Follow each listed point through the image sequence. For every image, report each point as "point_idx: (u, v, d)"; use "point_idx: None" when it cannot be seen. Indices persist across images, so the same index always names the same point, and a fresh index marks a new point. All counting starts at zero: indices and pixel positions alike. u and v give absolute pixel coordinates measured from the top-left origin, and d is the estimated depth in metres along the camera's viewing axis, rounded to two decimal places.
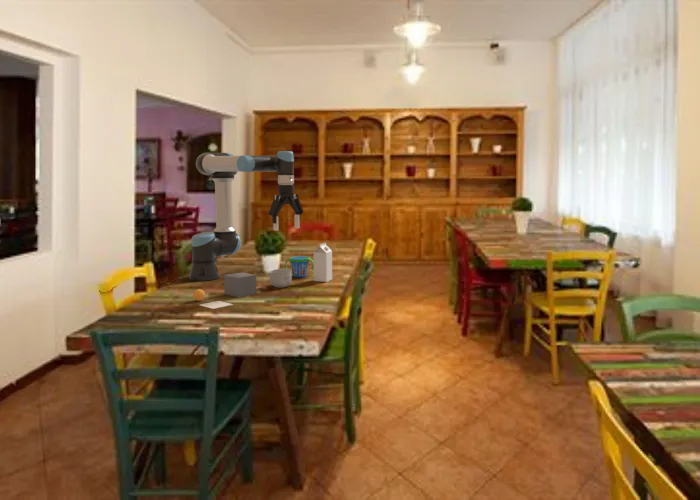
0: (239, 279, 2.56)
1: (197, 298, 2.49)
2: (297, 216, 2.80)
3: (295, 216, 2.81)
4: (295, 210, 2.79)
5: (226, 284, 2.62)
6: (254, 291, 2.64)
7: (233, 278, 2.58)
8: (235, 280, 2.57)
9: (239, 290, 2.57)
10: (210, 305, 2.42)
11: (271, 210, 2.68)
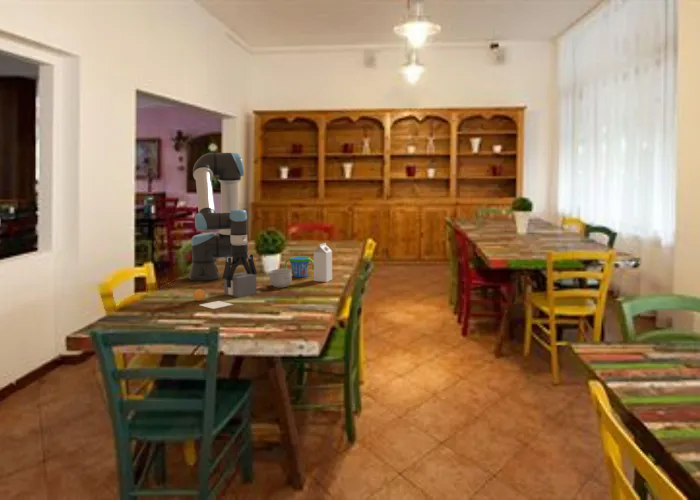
0: (239, 279, 2.57)
1: (197, 298, 2.49)
2: None
3: None
4: (248, 271, 2.66)
5: (226, 284, 2.62)
6: (254, 291, 2.64)
7: (233, 278, 2.58)
8: (235, 280, 2.57)
9: (239, 290, 2.57)
10: (210, 305, 2.42)
11: (224, 274, 2.57)
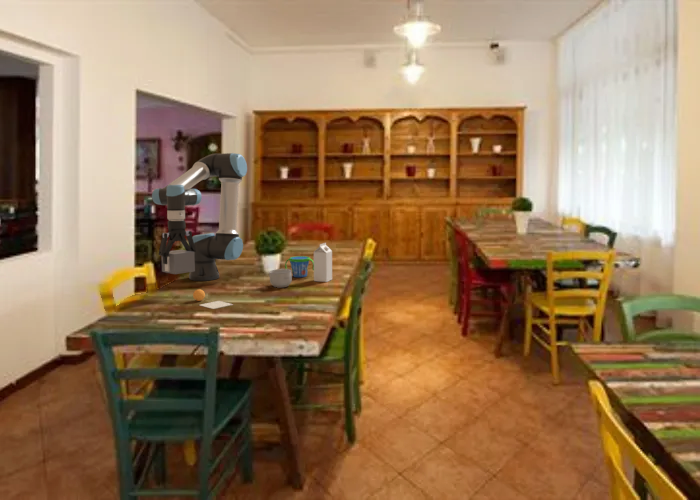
0: (175, 255, 2.52)
1: (197, 298, 2.49)
2: None
3: None
4: (186, 248, 2.61)
5: None
6: (192, 268, 2.59)
7: (169, 254, 2.53)
8: (171, 256, 2.52)
9: (175, 266, 2.52)
10: (210, 305, 2.42)
11: (160, 250, 2.52)
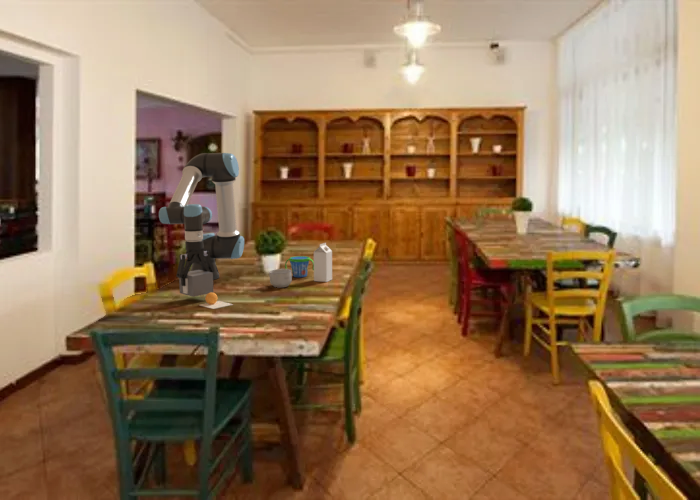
0: (194, 277, 2.45)
1: (206, 295, 2.44)
2: None
3: None
4: (205, 269, 2.54)
5: None
6: (211, 289, 2.52)
7: (188, 276, 2.46)
8: (190, 278, 2.45)
9: (194, 288, 2.45)
10: (210, 305, 2.42)
11: (178, 272, 2.45)
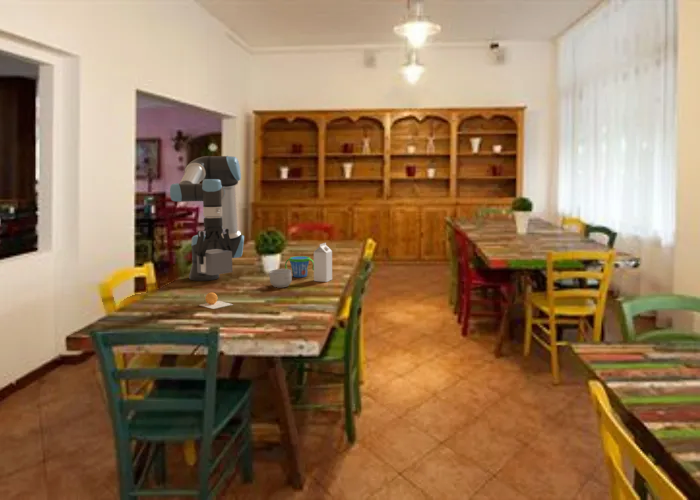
0: (212, 254, 2.34)
1: (206, 295, 2.44)
2: None
3: None
4: (223, 247, 2.44)
5: None
6: (230, 269, 2.41)
7: (206, 254, 2.35)
8: (208, 256, 2.35)
9: (213, 267, 2.34)
10: (210, 305, 2.42)
11: (196, 250, 2.34)
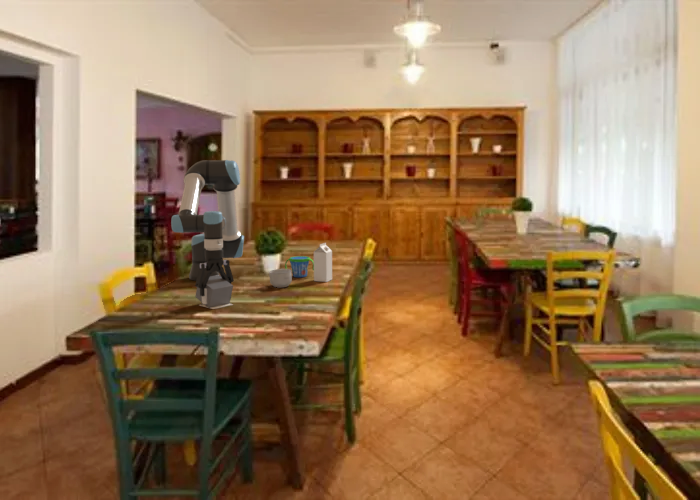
0: (214, 290, 2.36)
1: None
2: None
3: None
4: (224, 278, 2.45)
5: (199, 288, 2.41)
6: (227, 301, 2.44)
7: (207, 286, 2.37)
8: (209, 290, 2.36)
9: (211, 300, 2.37)
10: None
11: (197, 282, 2.36)
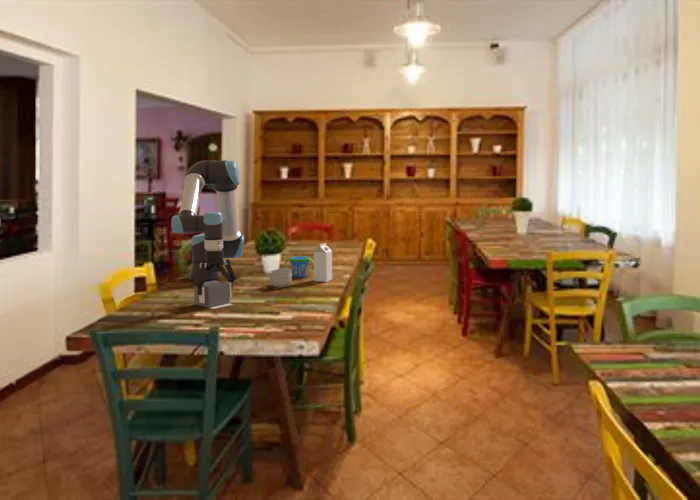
0: (210, 288, 2.37)
1: None
2: (229, 284, 2.47)
3: None
4: (226, 277, 2.46)
5: (196, 293, 2.43)
6: (227, 301, 2.44)
7: None
8: (205, 289, 2.38)
9: (210, 300, 2.38)
10: None
11: (195, 280, 2.35)
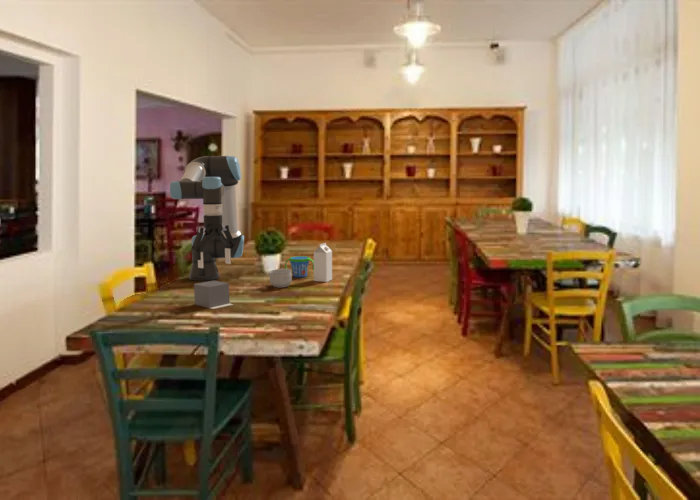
0: (210, 288, 2.37)
1: None
2: (227, 250, 2.45)
3: (225, 250, 2.46)
4: (225, 243, 2.44)
5: (196, 293, 2.43)
6: (227, 301, 2.44)
7: (203, 287, 2.39)
8: (205, 289, 2.38)
9: (210, 300, 2.38)
10: None
11: (194, 245, 2.33)
